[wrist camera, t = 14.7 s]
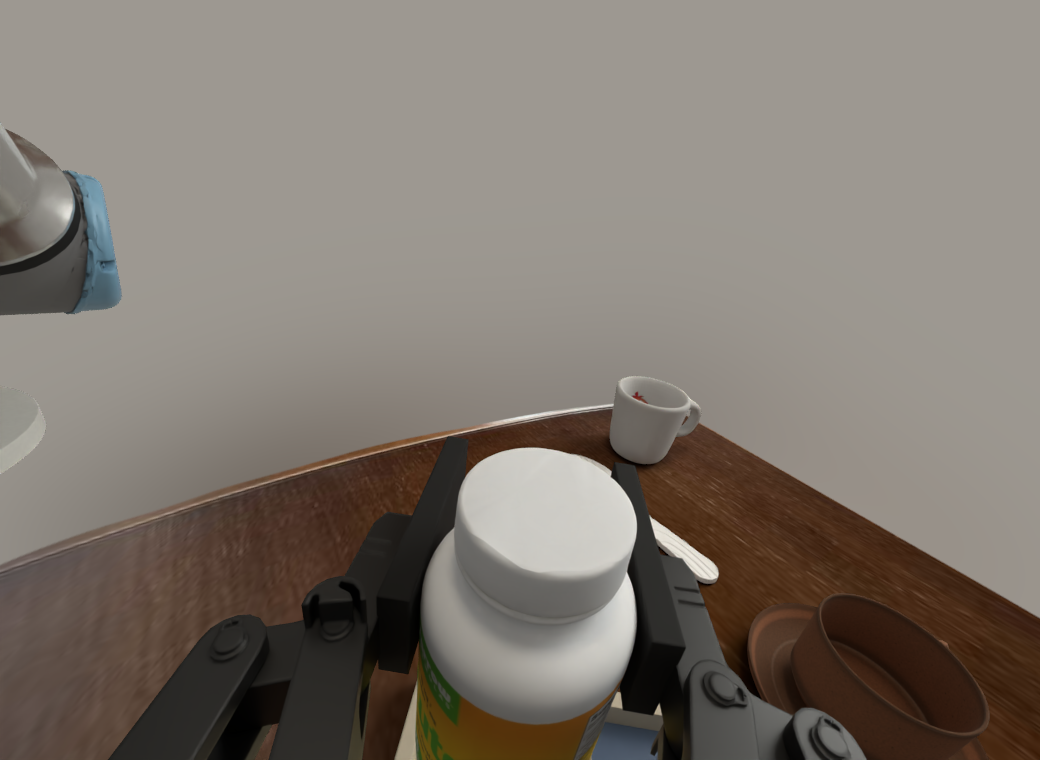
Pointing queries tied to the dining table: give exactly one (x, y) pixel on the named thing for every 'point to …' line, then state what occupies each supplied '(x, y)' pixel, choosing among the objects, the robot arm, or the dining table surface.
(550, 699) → the supplement bottle
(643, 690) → the robot arm
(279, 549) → the dining table surface
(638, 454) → the cup
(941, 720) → the cup and saucer
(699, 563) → the spoon
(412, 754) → the sorting tray
